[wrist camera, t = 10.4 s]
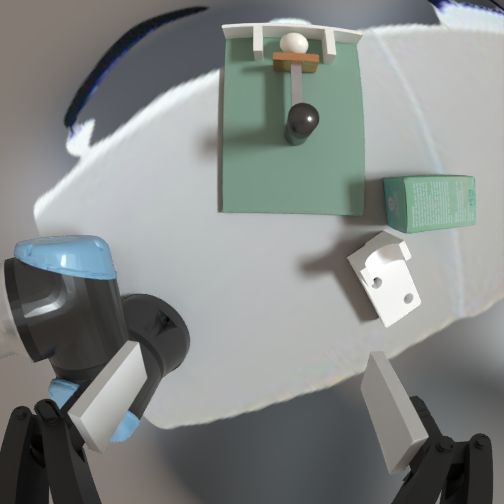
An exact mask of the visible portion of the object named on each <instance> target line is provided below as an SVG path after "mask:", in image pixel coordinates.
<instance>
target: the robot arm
mask: <svg viewBox="0 0 504 504" xmlns="http://www.w3.org/2000/svg"><path fill="white" fill-rule="evenodd" d="M14 255H15V256H16V257H14V258H10V259H7V260H4V261H3V262H2V264H1V266H0V359H2V358H5V357H8V356H11V355H14V354H18V355H21V356H23V357H24V358H25V359H27V360H28V361H30V362H32V363H35V362H38V361H41V360H44V359H47V358H48V359H49V361H50V362H51V365H52V367H53V369H54V371H55V374H56V378H55V379H52V381H51V382H50V383H51V384H50V386H49V390H48V392H49V396H50V398H51V399H43V400H41V401H39V402H37V404H36V405H35V407H34V410H35V412H36V414H37V415H34V414H32V412H31V411H30V409H29V408H28V407H25V406H19V407H17V408H15V409H14V410H13V412H12V413H11V416H10V419H9V423H8V426H7V429H6V432H5V436H4V440H3V443H2V447H1V451H0V504H49V486H50V491H51V495H52V499H53V503H54V504H102V503H101V500H100V498H99V495H98V492H97V490H96V487H95V484H94V481H93V478H92V475H91V472H90V468H89V465H88V462H87V458H86V455H85V451H84V449H83V447H82V446H83V445H84V443H86V444H87V446H88V447H89V449H91V450H93V451H96V452H98V453H101V454H102V453H103V451H104V449H105V448H106V446H107V444H108V443H109V441H110V442H121V441H124V440H125V439H128V438H129V437H130V435H131V434H132V433H133V431H134V430H135V428H136V427H137V426H138V425H139V424H140V419H141V417H142V415H143V413H144V411H145V409H146V408H147V406H148V404H149V402H150V400H151V398H152V396H153V394H154V393H155V391H156V389H157V387H158V385H159V383H160V381H161V379H162V378H163V377H164V376H166V375H167V374H168V373H169V372H171V371H173V370H175V369H176V368H178V367H179V366H180V365H181V363H182V362H183V361H184V359H185V357H186V355H187V353H188V350H189V346H190V337H189V332H188V329H187V326H186V324H185V322H184V321H183V319H182V318H181V316H180V315H179V314H178V312H177V311H176V310H175V309H174V308H172V307H171V306H170V305H169V304H167V303H166V302H164V301H163V300H161V299H159V298H157V297H154V296H151V295H146V294H135V295H131V296H129V297H127V298H125V299H124V300H122V301H121V297H120V292H119V288H118V283H117V279H116V278H117V272H116V271H115V270H114V266H113V261H112V257H111V253H110V249H109V246H108V244H107V243H106V242H105V241H104V240H103V239H102V238H100V237H97V236H91V235H72V236H55V237H45V238H38V239H33V240H25V241H21V242H18V243H17V244H16V246H15V250H14ZM361 391H362V393H363V396H364V399H365V402H366V405H367V408H368V410H369V413H370V416H371V419H372V422H373V425H374V428H375V431H376V434H377V437H378V440H379V443H380V446H381V448H382V452H383V455H384V458H385V462H386V465H387V468H388V471H389V474H393V473H397V472H401V471H404V470H405V469H406V467H407V466H408V465H410V468H411V471H410V472H409V473H408V474H407V476H406V477H405V478H404V479H403V481H404V483H403V485H402V486H401V488H400V490H399V492H398V493H397V495H396V497H395V498H394V500H393V502H392V503H391V504H435V503H436V501H437V499H438V497H439V494H440V492H441V490H442V492H441V498H440V504H492V499H493V460H492V447H491V441H490V439H489V437H488V436H486V435H485V434H481V433H479V434H476V435H474V436H472V438H471V439H470V441H466V442H454V441H453V440H452V438H450V437H448V436H443V435H442V434H441V432H440V430H439V428H438V426H437V424H436V423H435V421H434V419H433V417H432V416H431V414H430V412H429V410H427V407H426V405H425V403H424V401H423V400H421V399H420V398H419V397H418V396H413V397H408V395H407V393H406V391H405V390H404V388H403V386H402V385H401V382H400V381H399V379H398V377H397V375H396V373H395V372H394V370H393V368H392V366H391V365H390V363H389V361H388V359H387V358H386V356H385V354H384V352H383V351H377V352H370V356H369V360H368V364H367V367H366V371H365V374H364V378H363V381H362V385H361Z"/></svg>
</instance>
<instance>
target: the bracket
mask: <svg viewBox="0 0 504 504" xmlns="http://www.w3.org/2000/svg"><path fill="white" fill-rule="evenodd" d="M410 258H411V255H410V252H409V250H408V248H407V246H406V243H405V241H404V240H402V239H400V238H398V237H396V236H393V235H391V234H389V233H387V232H385V231H382V232H381V233H379V234H378V235H376V236H375V237H374V238H372V239H371V240H369V241H368V242H366V243H365V246H363V247H362V248H360V249H359V250H357V251H356V252H354V253H353V254H351V255H350V256H348V257H347V259H348V260H349V262H350V264H351V266H352V267H353V269H354V271H355V273H356V275H357V276H358V278H359V280H360V282H361V284H362V286H363V287H364V289H365V291H366V293H367V295H368V297H369V299H370V301H371V303H372V304H373V306H374V308H375V310H376V312H377V314H378V316H379V318H380V320H381V322H382V323H383V325H384V326H385V327H386V328H387V327H389V326H390V325H392V324H393V323H395V322H396V321H397V320H399V319H400V318H402V317H403V316H405V315H406V314H407V313H409V312H410V311H412V310H413V309H414V308H416V307H417V306H419V305H420V304H421V301H420V298H419V295H418V293H417V290H416V288H415V285H414V283H413V280H412V278H411V276H410V273H409V271H408V269H407V266H406V264H405V262H404V260H405V261H407V260H408V259H410ZM374 278H376V279H375V281H373V279H374Z"/></svg>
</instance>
